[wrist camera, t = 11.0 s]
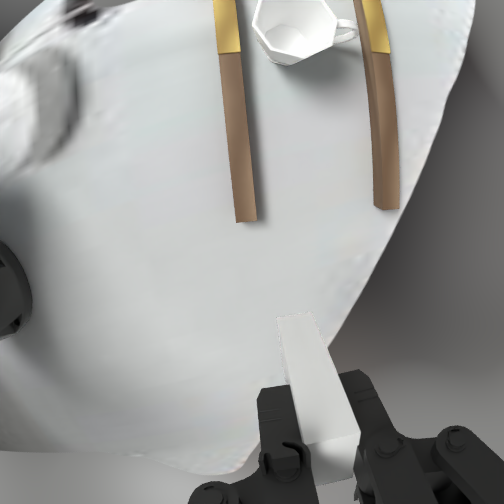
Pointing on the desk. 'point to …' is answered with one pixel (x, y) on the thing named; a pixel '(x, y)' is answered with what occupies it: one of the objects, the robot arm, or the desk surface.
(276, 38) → the cup
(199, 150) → the desk surface
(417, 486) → the robot arm
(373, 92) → the channel
